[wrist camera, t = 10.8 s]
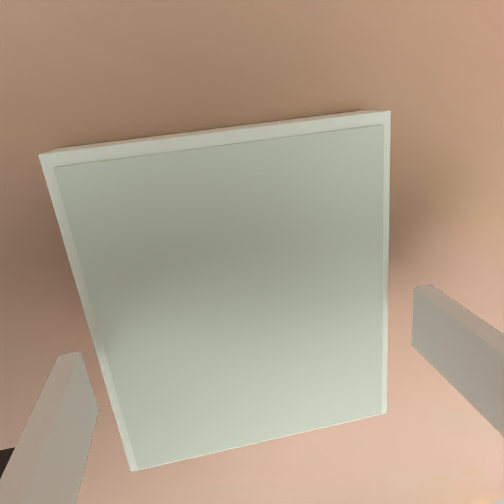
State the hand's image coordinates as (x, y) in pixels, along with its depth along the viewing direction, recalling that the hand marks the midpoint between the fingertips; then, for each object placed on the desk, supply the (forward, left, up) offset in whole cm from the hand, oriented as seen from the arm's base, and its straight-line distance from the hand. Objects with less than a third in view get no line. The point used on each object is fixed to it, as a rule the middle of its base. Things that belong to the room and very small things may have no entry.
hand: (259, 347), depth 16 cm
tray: (0, 0, -6) cm, 6 cm away
